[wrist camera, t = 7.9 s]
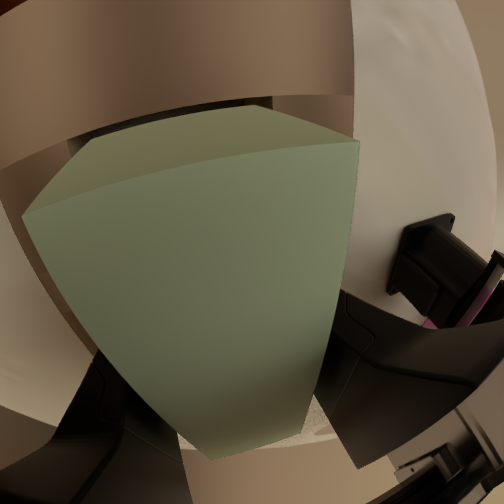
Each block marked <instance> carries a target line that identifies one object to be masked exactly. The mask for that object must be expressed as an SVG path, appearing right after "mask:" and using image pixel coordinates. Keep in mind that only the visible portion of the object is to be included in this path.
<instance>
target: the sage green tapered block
mask: <svg viewBox="0 0 504 504" xmlns="http://www.w3.org/2000/svg"><path fill="white" fill-rule="evenodd" d="M359 149H360V141H358V140H355V139H353V138H350V137H348V136H346V135H343V134H341V133H338V132H335V131H333V130H330V129H328V128H325V127H322V126H320V125H317V124H314V123H311V122H308V121H305V120H302V119H299V118H296V117H293V116H290V115H287V114H284V113H281V112H277V111H274V110H271V109H267V108H264V107H260V106H256V105H249V106H240V107H231V108H224V109H217V110H210V111H204V112H198V113H192V114H187V115H182V116H177V117H172V118H167V119H163V120H158V121H154V122H150V123H146V124H142V125H138V126H134V127H130V128H127V129H123V130H120V131H116V132H113V133H110V134H106V135H103V136H100V137H97V138H94V139H91V140H90V141H89V142H88V143H87V144H86V145H85V146H84V147H82V148H81V149H80V150H79V151H78V152H77V153H76V154H75V155H74V156H73V157H72V158H71V159H70V160H69V161H68V162H67V163H66V164H65V166H64V167H63V168H62V169H61V170H60V171H59V172H58V173H57V174H56V175H55V176H54V177H53V178H52V180H51V181H50V182H49V183H48V184H47V185H46V186H45V188H44V189H43V190H42V191H41V192H40V193H39V195H38V196H37V197H36V198H35V200H34V201H33V202H32V203H31V205H30V206H29V207H28V208H27V210H26V211H25V212H24V214H23V215H22V216H21V217H22V219H23V222H24V224H25V226H26V228H27V231H28V233H29V235H30V237H31V239H32V241H33V243H34V245H35V247H36V249H37V251H38V253H39V255H40V257H41V259H42V261H43V263H44V265H45V267H46V268H47V270H48V272H49V274H50V276H51V277H52V279H53V281H54V282H55V284H56V286H57V288H58V289H59V291H60V293H61V294H62V296H63V297H64V299H65V301H66V302H67V304H68V305H69V307H70V308H71V310H72V311H73V313H74V314H75V316H76V317H77V319H78V320H79V322H80V323H81V325H82V326H83V327H84V329H85V330H86V332H87V333H88V334H89V336H90V337H91V338H92V340H93V341H94V342H95V344H96V345H97V346H98V348H99V349H100V350H101V351H102V353H103V354H104V355H105V357H106V358H107V359H108V360H109V361H110V363H111V364H112V365H113V366H114V367H115V369H116V370H117V371H118V372H119V373H120V375H121V376H122V377H123V378H124V379H125V380H126V381H127V382H128V384H129V385H130V386H131V387H132V388H133V389H134V390H135V391H136V392H137V393H138V394H139V395H140V397H141V398H142V399H143V400H144V401H145V402H146V403H147V404H148V405H149V406H150V407H151V408H152V409H153V410H154V411H155V412H156V413H157V414H158V415H159V416H160V417H161V418H162V419H164V420H165V421H166V422H167V423H168V424H169V425H170V426H171V427H172V428H173V429H174V430H176V431H177V432H178V433H179V434H180V435H181V436H182V437H183V438H185V439H186V440H187V441H188V442H189V443H191V444H192V445H193V446H194V447H195V448H197V449H198V450H199V451H200V452H202V453H203V454H204V455H205V456H207V457H208V458H209V459H211V460H213V459H218V458H222V457H226V456H230V455H234V454H237V453H241V452H245V451H248V450H252V449H255V448H258V447H261V446H265V445H268V444H271V443H274V442H277V441H279V440H282V439H285V438H288V437H291V436H293V435H296V434H298V433H301V430H302V427H303V424H304V421H305V418H306V415H307V412H308V409H309V406H310V403H311V400H312V397H313V393H314V390H315V387H316V384H317V380H318V377H319V373H320V370H321V366H322V363H323V359H324V355H325V351H326V348H327V344H328V340H329V336H330V332H331V328H332V323H333V319H334V315H335V310H336V306H337V301H338V297H339V292H340V287H341V282H342V277H343V271H344V266H345V260H346V255H347V249H348V243H349V236H350V230H351V223H352V216H353V208H354V200H355V192H356V183H357V173H358V162H359Z"/></svg>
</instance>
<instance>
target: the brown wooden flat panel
mask: <svg viewBox="0 0 504 504" xmlns="http://www.w3.org/2000/svg"><path fill="white" fill-rule="evenodd" d="M241 98H243V101H244V106H249V105H256V106H260V107H264V108H267V109H271V110H274V111H277V112H281V113H284V114H287V115H290V116H293V117H296V118H299V119H302V120H305V121H308V122H311V123H314V124H317V125H320V126H322V127H325V128H328V129H330V130H333V131H335V132H338V133H341V134H343V135H346V136H348V137H350V138H353V121H354V46H353V27H352V13H351V2H350V0H28V1H26V2H24V3H22V4H21V5H19V6H17V7H15V8H14V9H12V10H10V11H8V12H7V13H5V14H4V15H2V16H0V199H1V202H2V204H3V207H4V209H5V212H6V214H7V216H8V219H9V221H10V223H11V226H12V228H13V230H14V232H15V234H16V236H17V239H18V241H19V243H20V245H21V247H22V249H23V251H24V253H25V254H26V256H27V258H28V260H29V262H30V264H31V266H32V267H33V269H34V271H35V273H36V274H37V276H38V278H39V280H40V281H41V283H42V285H43V286H44V288H45V289H46V291H47V293H48V294H49V296H50V297H51V299H52V301H53V302H54V304H55V305H56V307H57V308H58V310H59V311H60V312H61V314H62V315H63V317H64V318H65V320H66V321H67V322H68V324H69V325H70V327H71V328H72V329H73V331H74V332H75V333H76V335H77V336H78V337H79V339H80V340H81V341H82V342H83V344H84V345H85V346H86V347H87V349H88V350H89V351H90V352H91V354H92V355H93V356H95V354H96V352H97V350H98V346H97V345H96V344H95V342H94V341H93V340H92V338H91V337H90V336H89V334H88V333H87V332H86V330H85V329H84V327H83V326H82V325H81V323H80V322H79V320H78V319H77V317H76V316H75V314H74V313H73V311H72V310H71V308H70V307H69V305H68V304H67V302H66V301H65V299H64V297H63V296H62V294H61V293H60V291H59V289H58V288H57V286H56V284H55V282H54V281H53V279H52V277H51V276H50V274H49V272H48V270H47V268H46V267H45V265H44V263H43V261H42V259H41V257H40V255H39V253H38V251H37V249H36V247H35V245H34V243H33V241H32V239H31V237H30V235H29V233H28V231H27V228H26V226H25V224H24V222H23V219H22V217H21V216H22V215H23V214H24V212H25V211H26V210H27V208H28V207H29V206H30V205H31V203H32V202H33V201H34V200H35V198H36V197H37V196H38V195H39V193H40V192H41V191H42V190H43V189H44V188H45V186H46V185H47V184H48V183H49V182H50V181H51V180H52V178H53V177H54V176H55V175H56V174H57V173H58V172H59V171H60V170H61V169H62V168H63V167H64V166H65V164H66V163H67V162H68V161H69V160H70V159H71V158H72V157H73V156H74V155H75V154H76V153H77V152H78V151H79V150H80V149H81V148H82V147H84V146H85V145H86V144H87V143H88V142H89V141H90V140H91V139H92V134H91V131H92V130H95V129H98V128H101V127H105V126H108V125H111V124H114V123H118V122H121V121H125V120H128V119H132V118H136V117H140V116H144V115H148V114H152V113H156V112H161V111H165V110H170V109H175V108H180V107H185V106H191V105H197V104H203V103H209V102H216V101H224V100H232V99H241Z"/></svg>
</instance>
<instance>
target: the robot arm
mask: <svg viewBox="0 0 504 504" xmlns="http://www.w3.org/2000/svg"><path fill="white" fill-rule="evenodd" d="M454 220H455V216H454V215H453V214H451V213H449V214H446V215H442V216H439V217H436V218H433V219H429V220H426V221H423V222H420V223H416V224H413V225H410V226H408V227H407V228H406V229H405V231H404V233H403V237H402V241H401V245H400V248H399V252H398V255H397V258H396V262H395V265H394V268H393V271H392V274H391V278H390V281H389V284H388V287H387V289H386V292H387V293H388V294H389V295H390V296H391V295H394V294H396V293H398V292H401V293H402V294H403V295H404V296H405V297H406V298H407V299H408V300H409V302H410V303H411V304H412V305H413V306H414V307H415V308H416V309H417V310H418V312H419V313H420V314H421V315H422V316H423V317H426V316H427V317H428V318H429V319H430V321H431V322H432V323H433V324H434V325H435V326H436V328H437V329H430V328H426V327H422V326H419V325H417V324H414V323H412V322H410V321H407V320H405V319H403V318H400V317H398V316H395V315H393V314H391V313H388V312H386V311H384V310H382V309H379V308H377V307H375V306H373V305H370V304H369V303H367V302H365V301H363V300H361V299H359V298H357V297H355V296H353V295H351V294H349V293H346V292H345V291H344V290H342V289H340V292H339V297H338V301H337V306H336V310H335V315H334V319H333V323H332V328H331V332H330V336H329V340H328V344H327V348H326V351H325V355H324V359H323V363H322V366H321V370H320V373H319V377H318V380H317V384H316V387H315V390H314V395H315V397H316V399H317V400H318V402H319V404H320V406H321V407H322V409H323V411H324V413H325V414H326V416H327V418H328V419H329V421H330V423H331V425H332V427H333V428H334V430H335V432H336V434H337V435H338V437H339V439H340V440H341V442H342V444H343V446H344V447H345V449H346V450H347V452H348V454H349V456H350V458H351V459H352V461H353V463H354V464H355V466H356V468H357V469H360V468H362V467H364V466H366V465H368V464H370V463H372V462H374V461H376V460H378V459H379V458H381V457H383V456H385V455H387V456H388V457H389V459H390V461H391V463H392V465H393V466H394V468H395V470H396V471H395V472H394V475H395V476H396V478H397V480H398V482H399V483H400V484H398V485H396V486H395V487H393V488H392V489H390V490H389V491H387V492H385V493H384V494H382V495H381V496H379V497H377V498H375V499H374V500H372V501H370V502H368V503H366V504H479V503H480V502H481V501H482V500H483V499H484V498H485V497H486V496H487V495H488V494H489V493H490V491H492V490H493V488H495V487H496V486H498V485H499V484H501V483H502V482H504V280H500V278H501V277H502V275H503V273H504V254H503V253H501V252H498V251H496V250H494V252H493V254H492V255H491V257H492V258H491V259H490V261H489V263H487V262H486V261H485V260H484V259H482V258H481V257H480V256H479V255H478V254H477V253H476V252H474V251H473V250H472V249H471V248H470V247H468V246H467V245H466V244H465V243H464V242H462V241H461V240H460V239H459V238H457V237H456V236H455V235H454V234H452V233H451V230H452V227H453V224H454ZM499 280H500V281H499ZM498 281H499V283H498ZM497 283H498V285H497ZM496 285H497V286H496ZM495 286H496V288H495ZM494 288H495V289H494ZM493 289H494V291H493ZM492 291H493V292H492ZM491 292H492V294H491ZM490 294H491V295H490ZM489 295H490V297H489ZM488 297H489V298H488ZM487 298H488V300H487ZM486 300H487V301H486ZM485 301H486V303H485ZM484 303H485V304H484ZM483 304H484V305H483ZM482 305H483V307H482ZM481 307H482V308H481ZM480 308H481V310H480ZM479 310H480V311H479ZM478 311H479V312H478ZM477 312H478V314H477ZM476 314H477V315H476ZM475 315H476V317H475ZM474 317H475V318H474ZM473 318H474V319H473ZM472 319H473V321H472ZM471 321H472V322H471ZM470 322H471V323H470ZM469 323H470V324H469ZM468 324H469V326H468ZM92 362H93V363H91V364H90V366H89V368H88V370H87V373H86V375H85V377H84V379H83V381H82V383H81V385H80V387H79V389H78V390H77V392H76V394H75V396H74V398H73V400H72V401H71V403H70V405H69V407H68V409H67V410H66V412H65V414H64V416H63V418H62V420H61V422H60V423H59V425H58V427H57V429H56V431H55V433H54V434H53V436H52V437H51V439H50V440H49V441H48V442H47V443H46V444H45V445H44V446H42V447H41V448H39V449H37V450H36V451H34V452H32V453H30V454H29V455H27V456H25V457H23V458H21V459H20V460H18V461H16V462H15V463H12V464H11V465H9V466H7V467H5V468H3V469H1V470H0V504H193V502H192V498H191V494H190V490H189V486H188V482H187V478H186V474H185V470H184V466H183V461H182V456H181V452H180V446H179V441H178V436H177V431H176V430H174V429H173V428H172V427H171V426H170V425H169V424H168V423H167V422H166V421H165V420H164V419H162V418H161V417H160V416H159V415H158V414H157V413H156V412H155V411H154V410H153V409H152V408H151V407H150V406H149V405H148V404H147V403H146V402H145V401H144V400H143V399H142V398H141V397H140V395H139V394H138V393H137V392H136V391H135V390H134V389H133V388H132V387H131V386H130V385H129V384H128V382H127V381H126V380H125V379H124V378H123V377H122V376H121V375H120V373H119V372H118V371H117V370H116V369H115V367H114V366H113V365H112V364H111V363H110V361H109V360H108V359H107V358H106V357H105V355H104V354H103V353H102V351H101V350H100V349H99V348H98V350H97V352H96V354H95V356H94V358H93V360H92Z"/></svg>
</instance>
